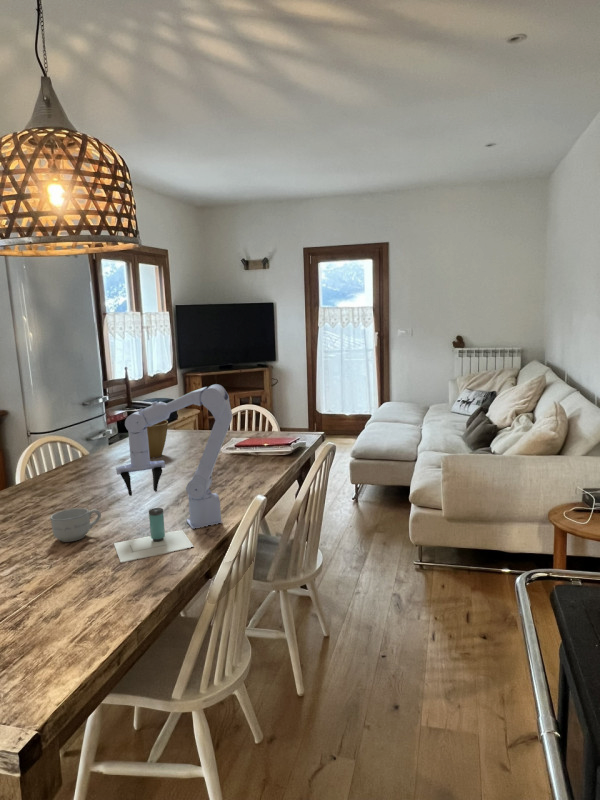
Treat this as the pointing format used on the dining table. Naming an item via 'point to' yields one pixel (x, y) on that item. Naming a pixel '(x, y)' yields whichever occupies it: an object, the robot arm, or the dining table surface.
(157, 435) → the plant pot
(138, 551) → the paper pad
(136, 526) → the dining table surface
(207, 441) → the robot arm
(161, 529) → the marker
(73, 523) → the teacup
